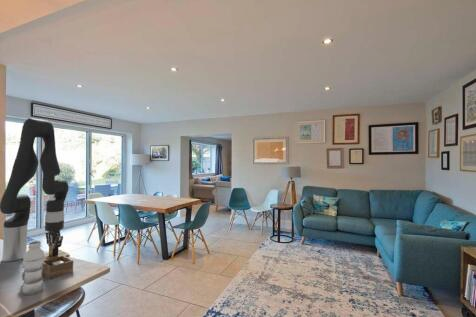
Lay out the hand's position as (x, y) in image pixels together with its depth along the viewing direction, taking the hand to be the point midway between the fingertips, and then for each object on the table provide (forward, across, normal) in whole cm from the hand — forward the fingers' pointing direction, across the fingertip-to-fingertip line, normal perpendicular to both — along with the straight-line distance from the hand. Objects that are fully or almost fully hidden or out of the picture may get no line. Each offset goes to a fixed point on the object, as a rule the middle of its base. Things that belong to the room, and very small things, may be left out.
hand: (53, 254), depth 118 cm
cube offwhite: (+5, +10, -2) cm, 11 cm away
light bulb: (+6, +13, -13) cm, 19 cm away
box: (+5, +12, -3) cm, 13 cm away
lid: (+2, 0, 0) cm, 2 cm away
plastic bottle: (+6, +22, -15) cm, 27 cm away
